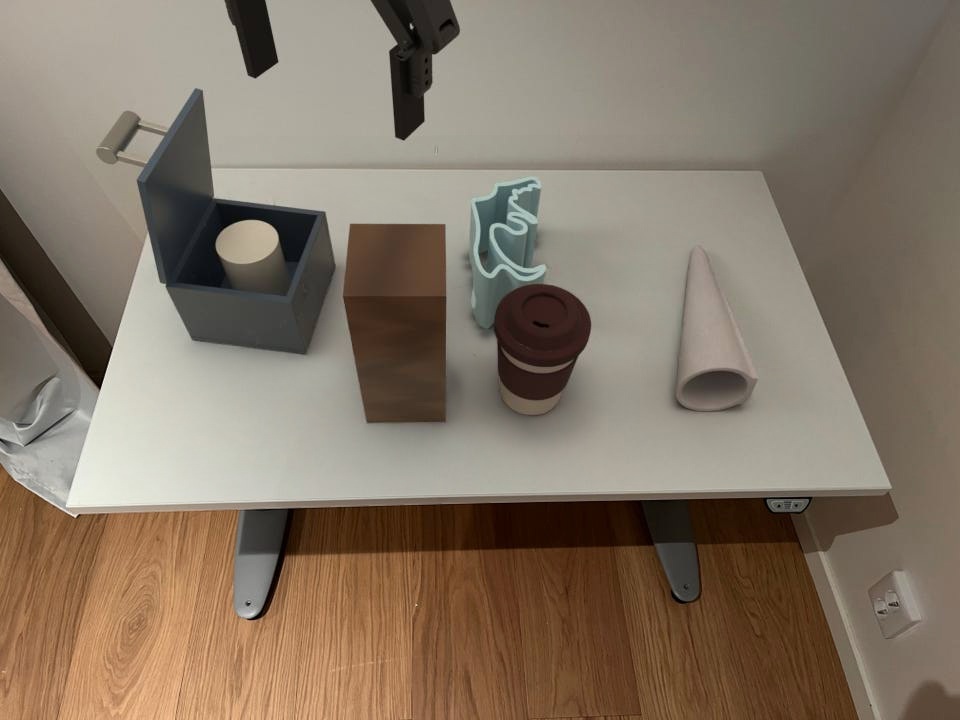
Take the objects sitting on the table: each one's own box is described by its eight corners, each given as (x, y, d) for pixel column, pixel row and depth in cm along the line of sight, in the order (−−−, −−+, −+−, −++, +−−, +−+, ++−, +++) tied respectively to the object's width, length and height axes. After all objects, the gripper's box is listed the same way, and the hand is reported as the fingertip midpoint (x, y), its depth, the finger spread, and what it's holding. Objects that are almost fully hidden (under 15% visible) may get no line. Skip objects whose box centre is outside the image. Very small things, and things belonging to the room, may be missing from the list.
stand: (366, 423, 77) (342, 296, 59) (370, 358, 82) (349, 223, 64) (446, 422, 77) (446, 295, 60) (445, 357, 83) (445, 223, 65)
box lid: (202, 89, 71) (135, 70, 70) (145, 182, 62) (68, 161, 61) (214, 195, 83) (157, 180, 82) (167, 284, 74) (103, 268, 73)
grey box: (336, 266, 90) (325, 211, 82) (305, 355, 82) (290, 302, 74) (232, 254, 91) (212, 197, 83) (192, 340, 83) (164, 286, 75)
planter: (648, 222, 91) (685, 366, 74) (712, 224, 91) (764, 368, 74) (636, 267, 97) (668, 410, 80) (697, 268, 97) (742, 412, 80)
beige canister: (251, 328, 83) (230, 272, 75) (228, 292, 86) (205, 234, 78) (303, 304, 86) (288, 247, 77) (279, 269, 89) (262, 211, 81)
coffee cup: (532, 343, 84) (547, 258, 72) (589, 396, 80) (614, 316, 68) (470, 384, 81) (475, 302, 68) (526, 442, 76) (542, 366, 64)
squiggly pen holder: (462, 231, 95) (464, 178, 88) (532, 228, 96) (539, 176, 89) (474, 333, 85) (477, 283, 77) (552, 329, 86) (563, 279, 78)
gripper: (535, -253, 32) (503, 129, 50) (149, -339, 39) (240, 25, 56) (452, -212, 28) (449, 187, 46) (38, -315, 35) (173, 68, 52)
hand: (334, 98), depth 51 cm, fingers open, 13 cm apart
